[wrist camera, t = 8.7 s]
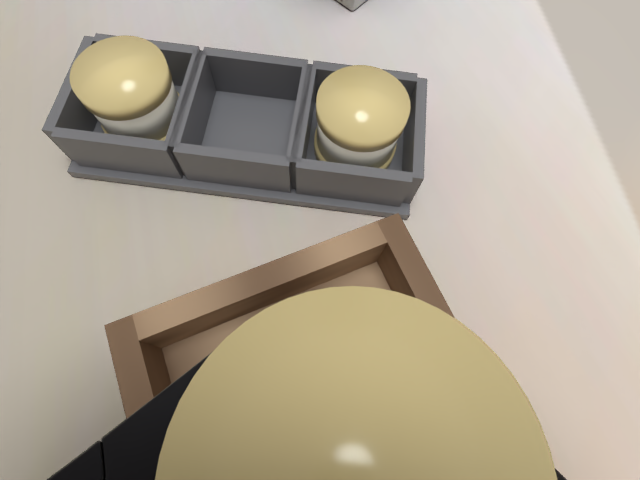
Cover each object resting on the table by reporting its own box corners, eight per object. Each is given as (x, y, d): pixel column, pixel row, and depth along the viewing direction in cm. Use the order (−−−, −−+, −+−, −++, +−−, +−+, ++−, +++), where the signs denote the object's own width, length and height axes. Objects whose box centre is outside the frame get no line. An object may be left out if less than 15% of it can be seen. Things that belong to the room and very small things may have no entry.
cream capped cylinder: (284, 514, 13) (229, 893, 3) (242, 389, 15) (109, 369, 4) (396, 458, 14) (648, 614, 4) (347, 344, 15) (437, 238, 5)
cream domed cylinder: (335, 195, 20) (342, 155, 17) (301, 131, 21) (301, 82, 18) (407, 165, 21) (427, 122, 18) (370, 105, 22) (382, 54, 19)
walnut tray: (226, 663, 14) (202, 743, 11) (141, 338, 18) (104, 325, 15) (514, 502, 16) (568, 530, 13) (382, 242, 20) (398, 212, 17)
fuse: (119, 167, 20) (82, 121, 17) (98, 105, 22) (59, 52, 18) (199, 138, 21) (179, 90, 18) (173, 80, 22) (150, 25, 19)
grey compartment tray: (412, 108, 23) (427, 68, 20) (406, 219, 20) (423, 191, 18) (114, 71, 23) (88, 26, 20) (72, 176, 21) (36, 142, 18)
